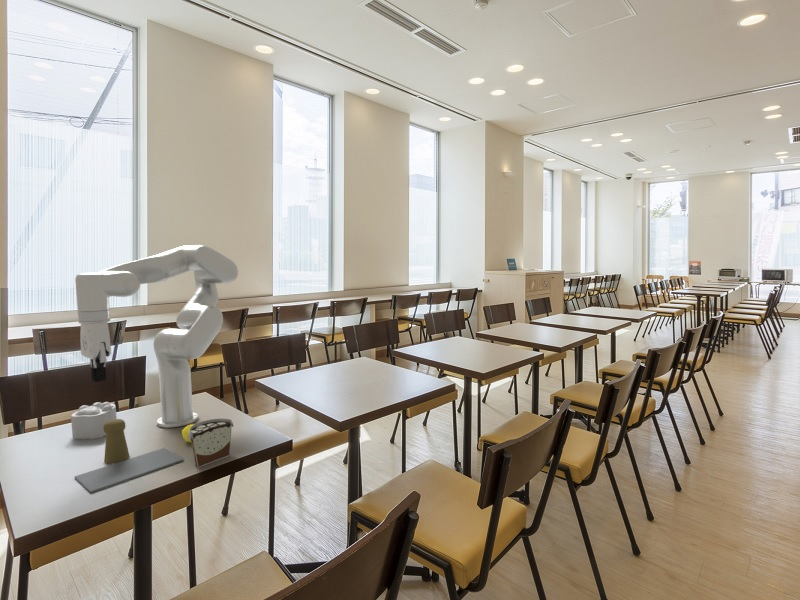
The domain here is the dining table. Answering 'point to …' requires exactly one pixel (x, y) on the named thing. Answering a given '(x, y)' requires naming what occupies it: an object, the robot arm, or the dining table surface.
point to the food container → (210, 440)
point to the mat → (127, 469)
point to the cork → (115, 441)
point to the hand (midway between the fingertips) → (99, 380)
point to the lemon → (186, 432)
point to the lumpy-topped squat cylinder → (92, 420)
